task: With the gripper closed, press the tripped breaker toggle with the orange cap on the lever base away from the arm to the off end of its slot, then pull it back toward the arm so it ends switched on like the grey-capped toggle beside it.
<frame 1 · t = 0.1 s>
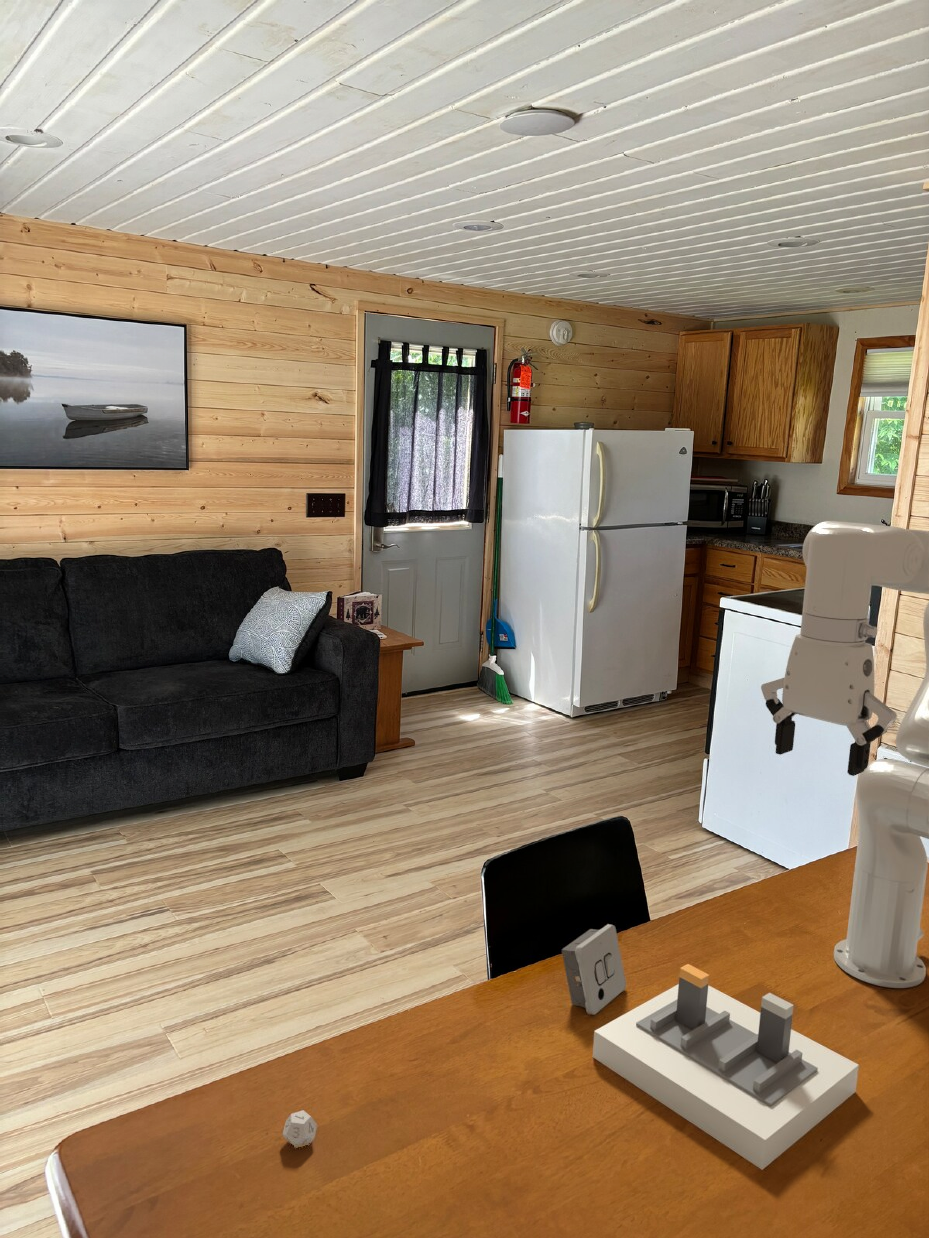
hand: (818, 762, 121), 37 cm above the table, tool pointing down, fingers open, 9 cm apart
lever base: (721, 1073, 117), on the table
game die: (299, 1143, 104), on the table
electrical switch: (592, 997, 133), on the table
tripped toggle: (692, 997, 120), point 8 cm above the table, slide at 0.0 cm
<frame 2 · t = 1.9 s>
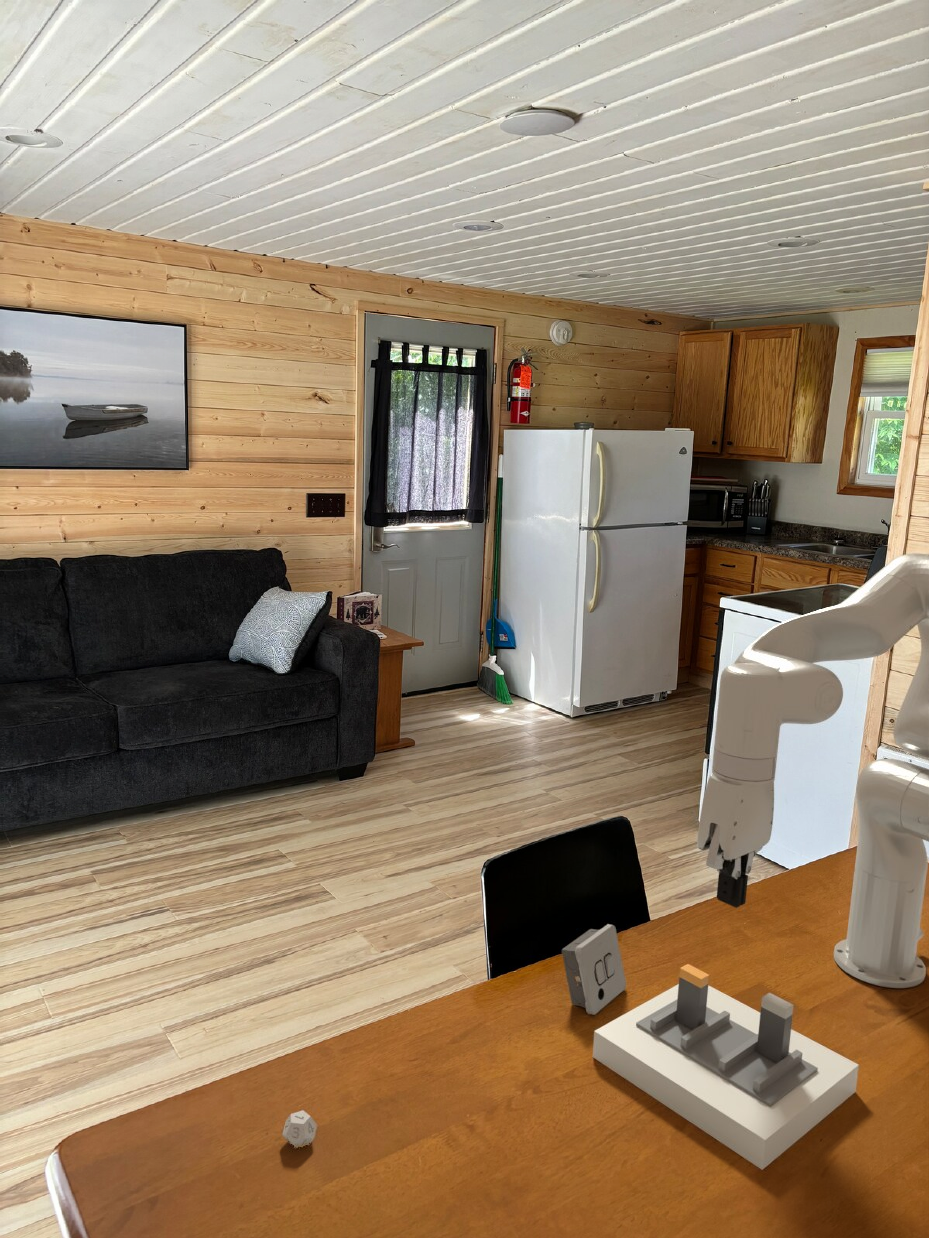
hand: (730, 901, 122), 19 cm above the table, tool pointing down, fingers closed
nothing on the table moved.
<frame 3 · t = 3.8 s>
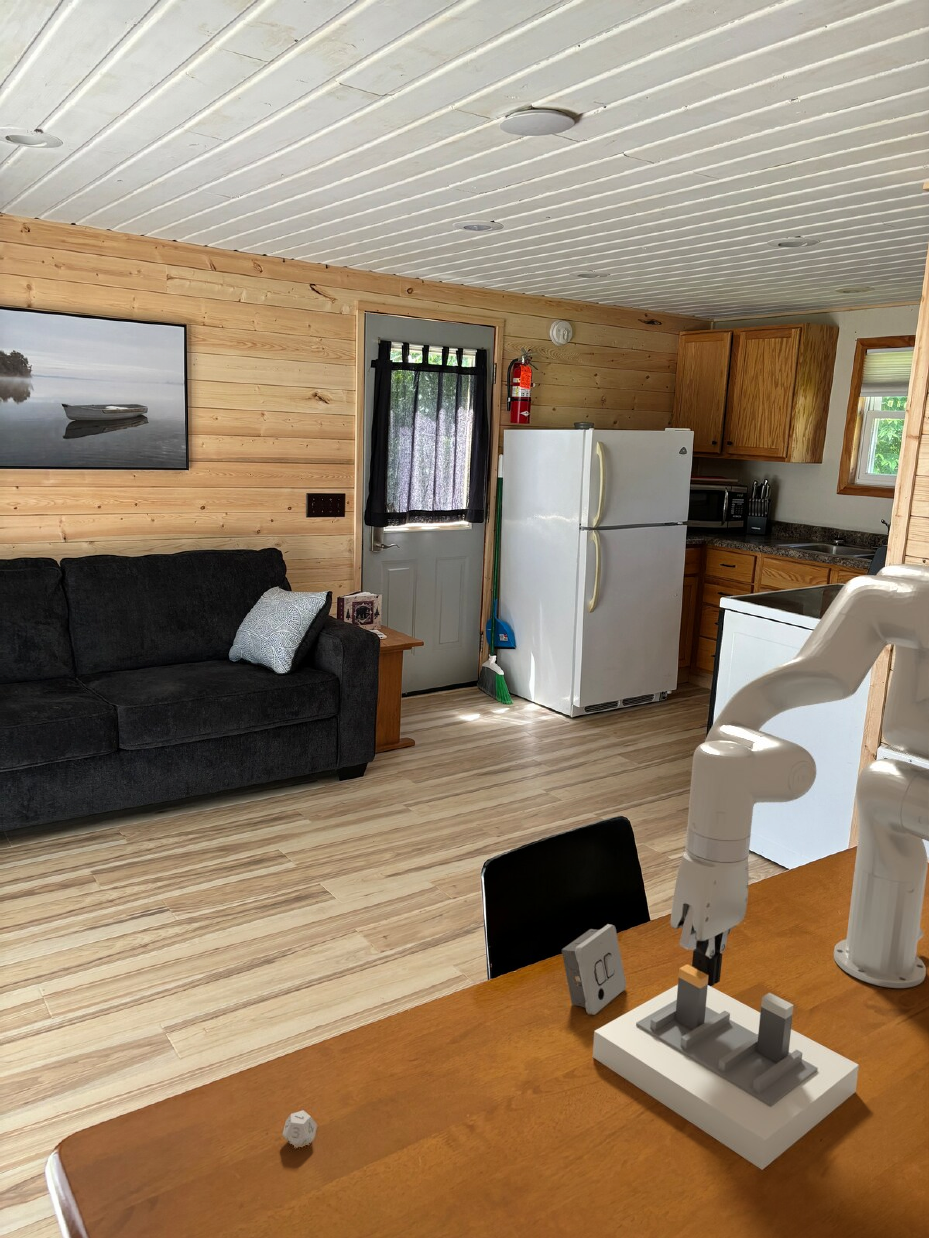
hand: (705, 979, 121), 9 cm above the table, tool pointing down, fingers closed
tripped toggle: (691, 998, 119), point 8 cm above the table, slide at 0.2 cm, touching gripper
everything else where it was.
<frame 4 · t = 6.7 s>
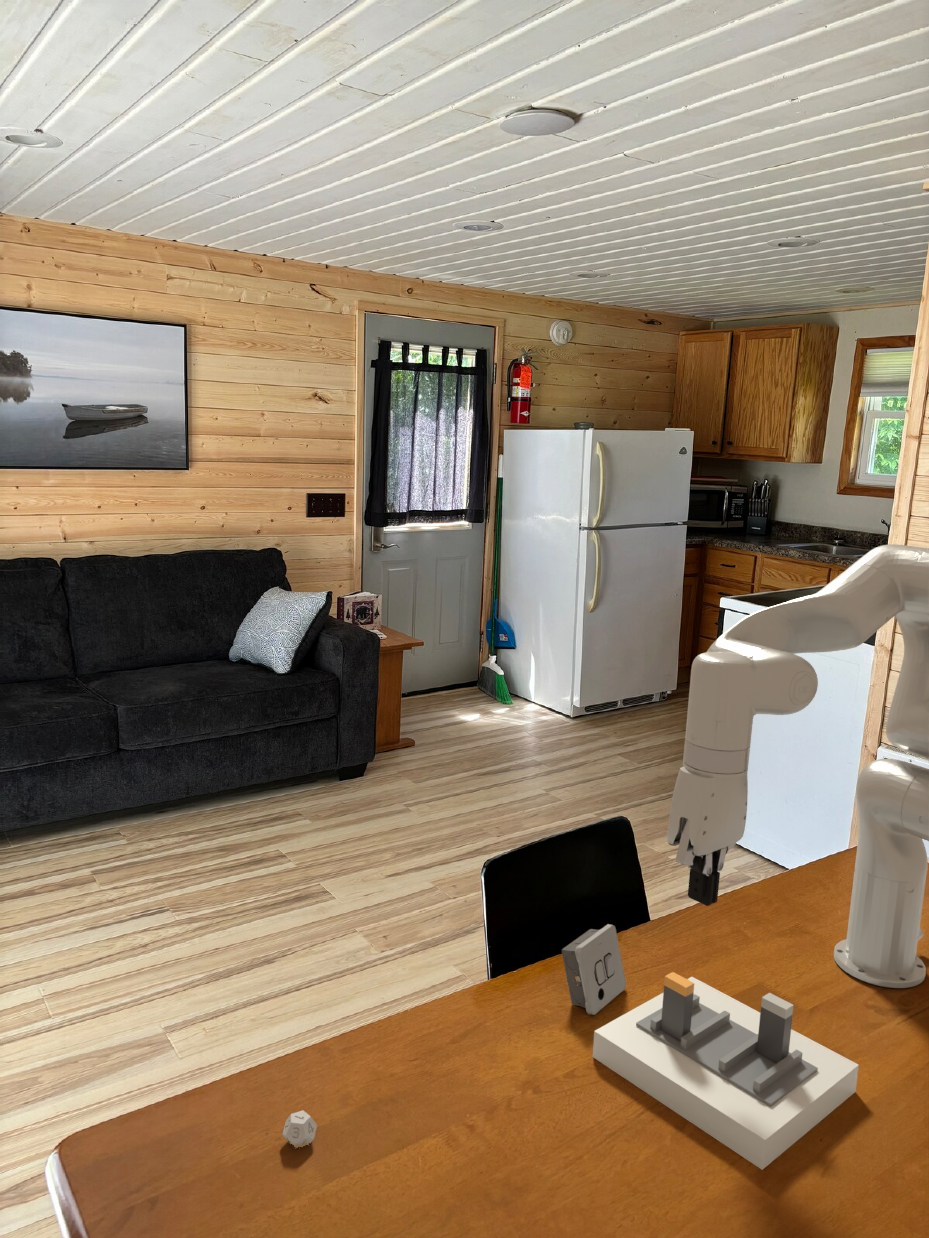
hand: (702, 899, 117), 21 cm above the table, tool pointing down, fingers closed
tripped toggle: (677, 1006, 118), point 8 cm above the table, slide at 3.0 cm
everything else where it was.
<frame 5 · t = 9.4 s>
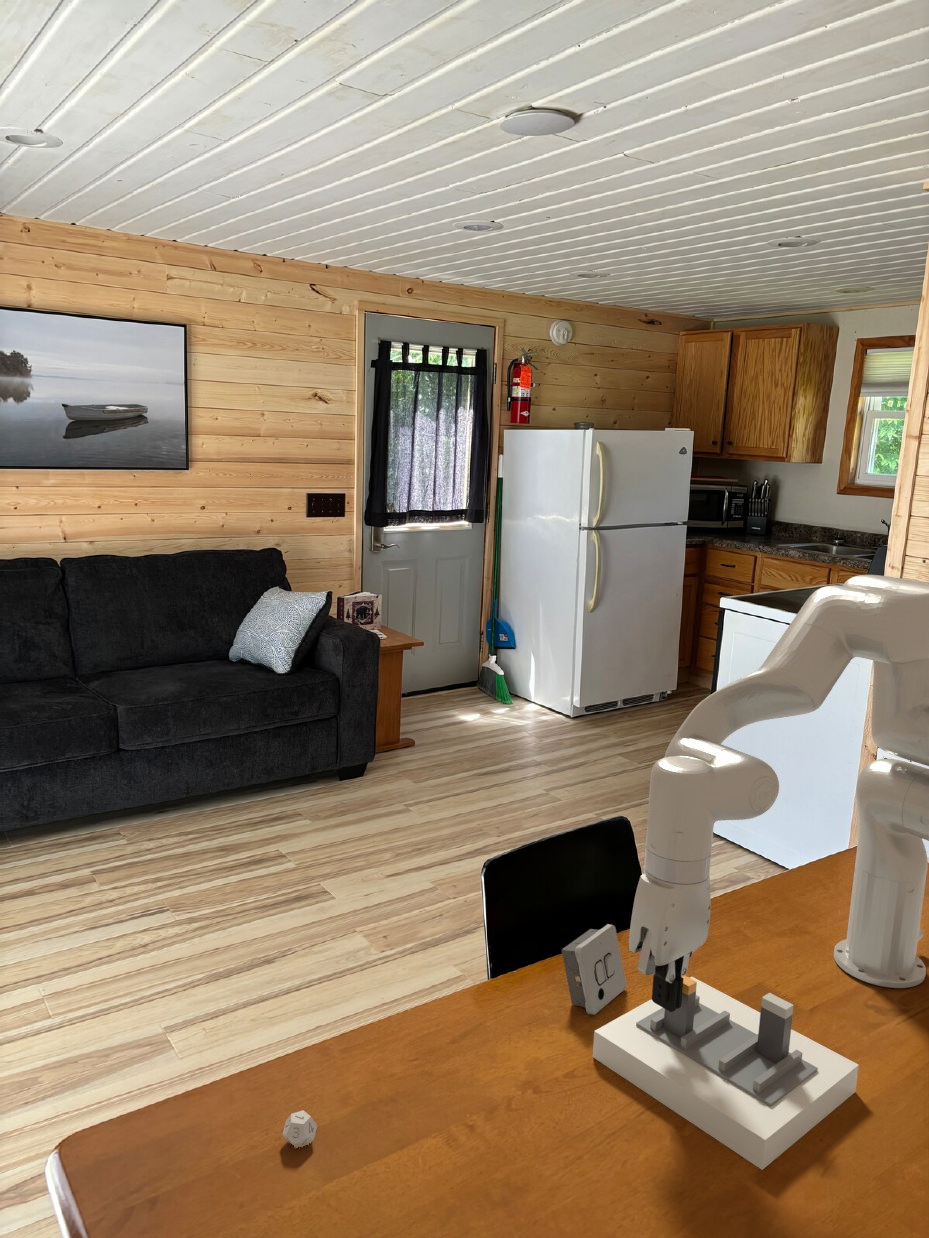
hand: (666, 1004, 116), 9 cm above the table, tool pointing down, fingers closed
tripped toggle: (679, 1004, 118), point 8 cm above the table, slide at 2.5 cm, touching gripper
everything else where it was.
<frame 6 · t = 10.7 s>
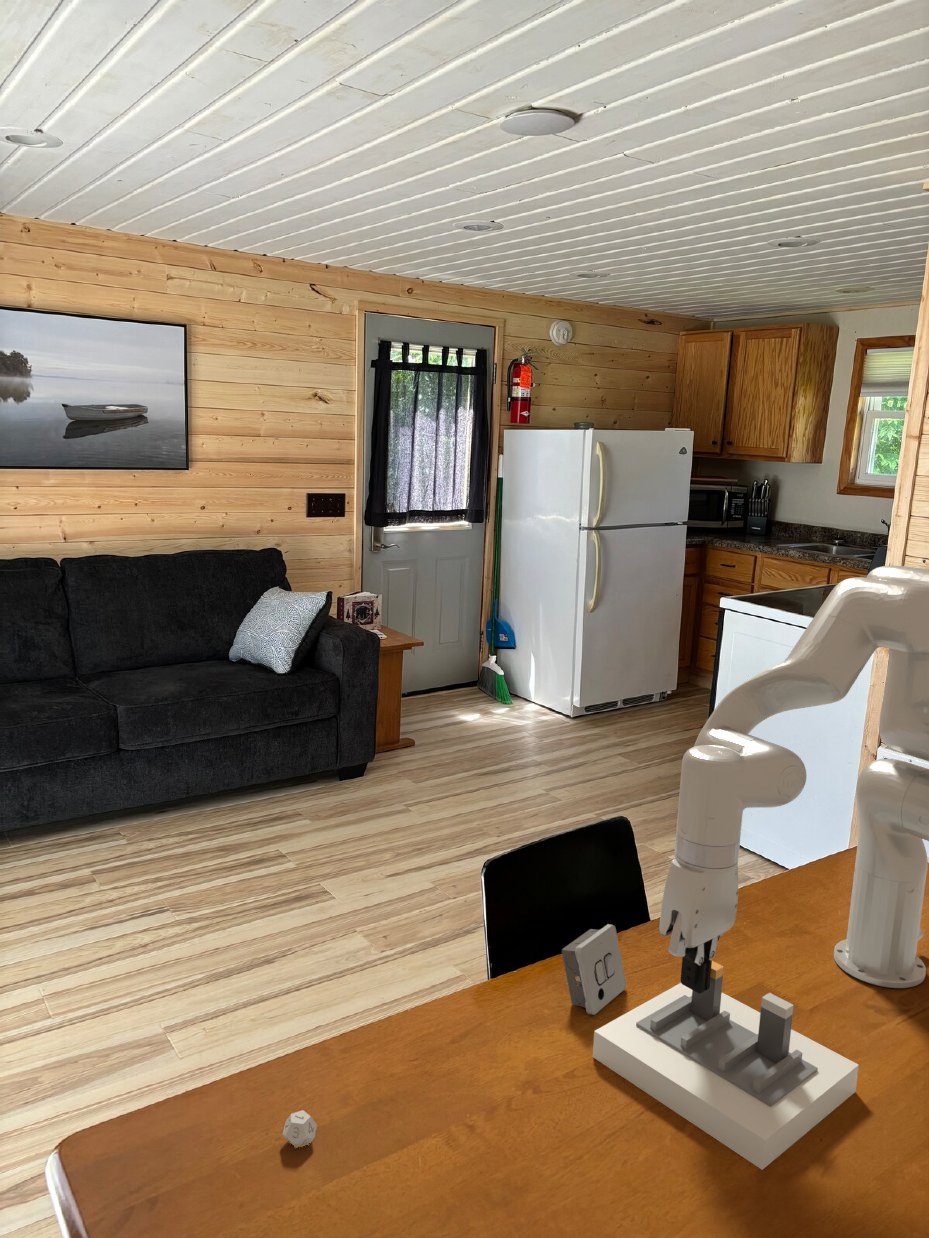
hand: (694, 986, 120), 9 cm above the table, tool pointing down, fingers closed
tripped toggle: (707, 989, 122), point 8 cm above the table, slide at -3.1 cm, touching gripper
everything else where it was.
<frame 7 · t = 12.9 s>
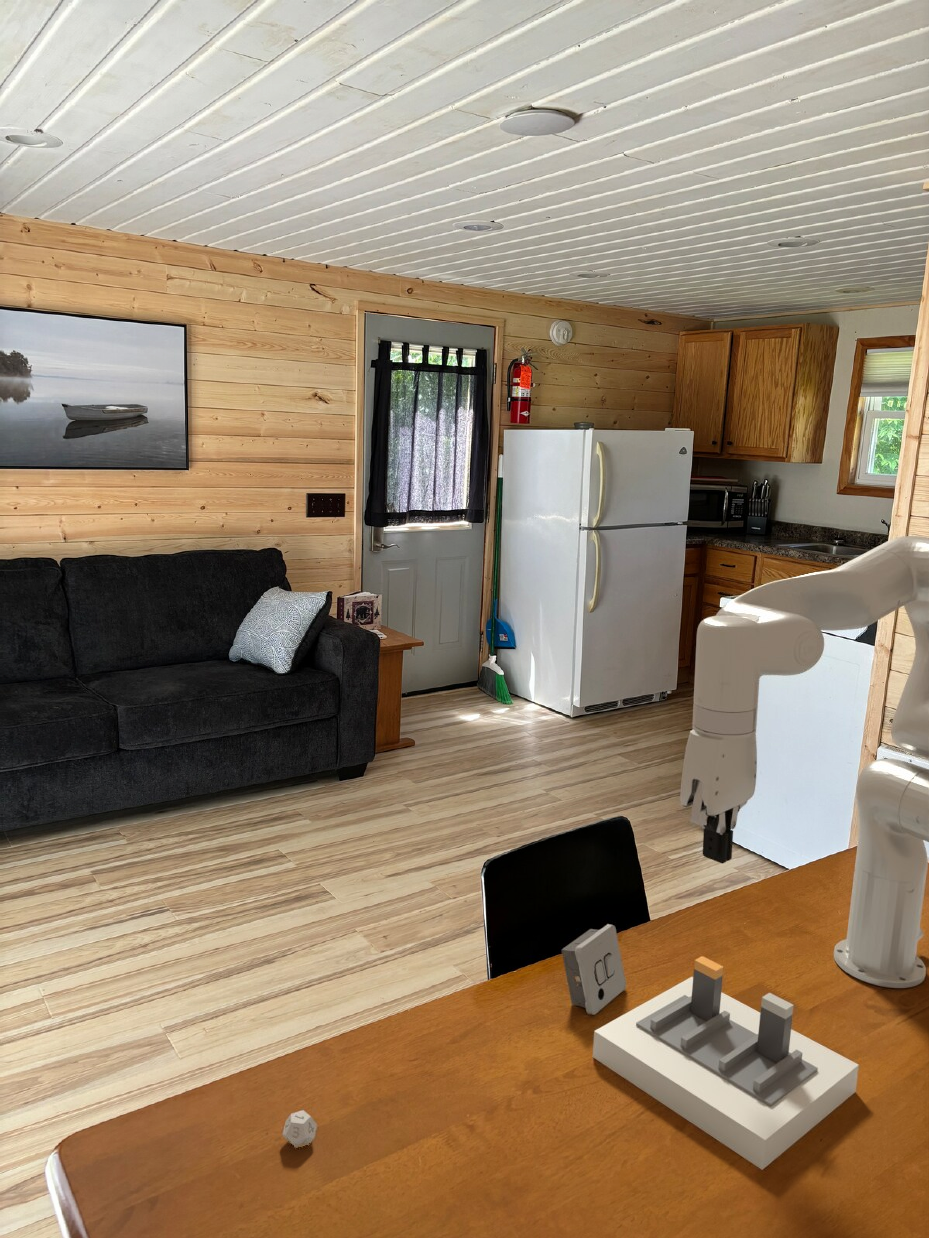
hand: (716, 857, 120), 25 cm above the table, tool pointing down, fingers closed
tripped toggle: (706, 989, 122), point 8 cm above the table, slide at -3.0 cm
everything else where it was.
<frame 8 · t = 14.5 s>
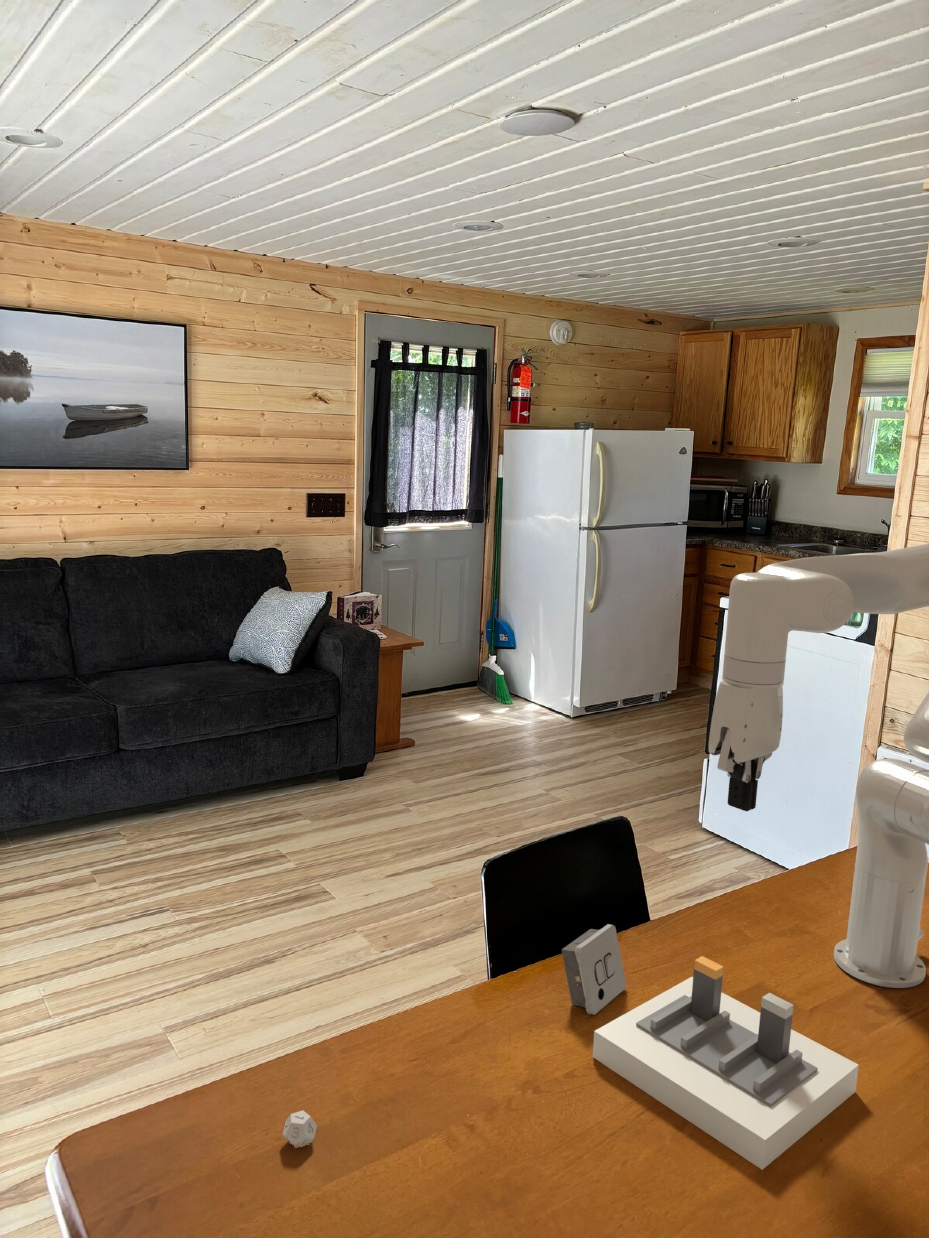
hand: (741, 806, 126), 29 cm above the table, tool pointing down, fingers closed
nothing on the table moved.
at the end: tripped toggle slide at -3.0 cm; electrical switch moved 0.3 cm from its start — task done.
